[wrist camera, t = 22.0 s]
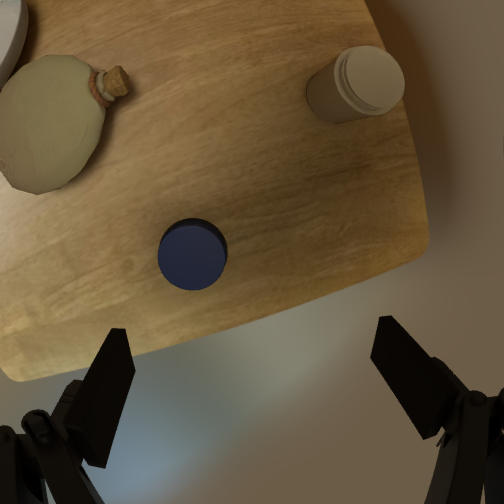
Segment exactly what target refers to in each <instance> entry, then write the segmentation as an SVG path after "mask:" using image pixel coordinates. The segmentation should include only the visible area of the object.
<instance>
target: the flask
mask: <svg viewBox="0 0 504 504" xmlns="http://www.w3.org/2000/svg"><path fill="white" fill-rule="evenodd" d="M128 91H129V76H128V75H127V74H126V72H125V71H124V70H123V68H122V67H121V66H115V67H114V68H113V69H112V70H111V71H109V72H108V73H107V72H106V71H105V70H102V71H101V72H94V70H93V68H92V67H91V66H89V65H88V64H86V63H84V62H83V61H81V60H80V59H78V58H76V57H75V56H73V55H46V56H44V57H41V58H39V59H37V60H35V61H32V62H30V63H28V64H26V65H24V66H23V67H21V68H20V69H19V70H18V71H17V72H16V73H15V74H14V75H13V76H12V77H11V78H10V79H9V80H8V81H7V82H6V83H5V85H4V87H3V89H2V91H1V93H0V170H1V172H2V173H3V175H4V176H5V178H6V179H7V181H8V182H9V183H10V185H11V186H12V187H13V188H15V189H18V190H21V191H24V192H28V193H32V194H35V195H39V194H43V193H46V192H50V191H53V190H57V189H60V188H61V187H62V186H63V185H65V184H66V183H67V182H68V181H69V180H71V179H72V178H73V177H74V176H76V175H77V174H78V173H79V172H80V171H81V170H82V168H83V167H84V165H85V163H86V162H87V160H88V159H89V157H90V155H91V154H92V152H93V151H94V149H95V148H96V146H97V145H98V143H99V140H100V135H101V131H102V127H103V123H104V119H105V116H106V110H105V107H109V106H110V105H111V101H114V99H115V97H114V96H124V95H125V94H126V93H127V92H128Z"/></svg>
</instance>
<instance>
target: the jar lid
mask: <svg viewBox="0 0 504 504" xmlns="http://www.w3.org/2000/svg"><path fill="white" fill-rule="evenodd" d="M225 256H226V252H225V248H224V244H223V242H222V239H221V236H219V235H218V233H217V232H216V231H215V229H214V230H213V229H212V228H211V227H209V226H208V225H205V224H203V223H199V222H190V221H189V222H185V223H181V224H179V225H177V226H175V227H173V228H172V229H171V230H170V231H169V232H167V233H166V235H165V237H164V239H163V240H162V241H161V244H160V247H159V250H158V264H159V267H160V270H161V272H162V274H163V275H164V277H165V278H166V279H167V280H168V281H169V282H170V283H172V284H173V285H175V286H176V287H179V288H181V289H185V290H200V289H204V288H206V287H208V286H210V285H212V284H213V283H214V282H215V281H217V279H218V278H219V277H220V275H221V274H222V272H223V270H224V266H225Z"/></svg>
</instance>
